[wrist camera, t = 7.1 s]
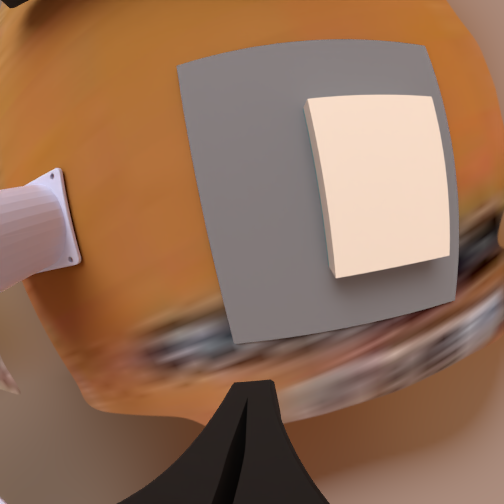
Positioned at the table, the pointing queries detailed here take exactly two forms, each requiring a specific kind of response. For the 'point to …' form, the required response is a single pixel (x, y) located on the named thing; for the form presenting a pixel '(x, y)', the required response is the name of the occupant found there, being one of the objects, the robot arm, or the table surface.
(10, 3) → the magazine
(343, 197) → the tile
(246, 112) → the mat
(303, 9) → the table surface
